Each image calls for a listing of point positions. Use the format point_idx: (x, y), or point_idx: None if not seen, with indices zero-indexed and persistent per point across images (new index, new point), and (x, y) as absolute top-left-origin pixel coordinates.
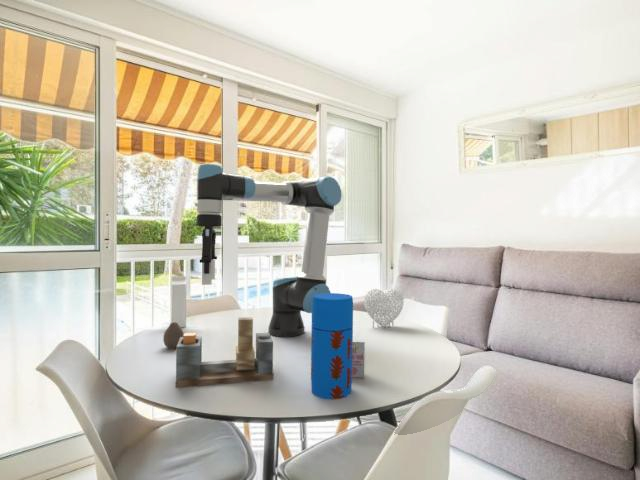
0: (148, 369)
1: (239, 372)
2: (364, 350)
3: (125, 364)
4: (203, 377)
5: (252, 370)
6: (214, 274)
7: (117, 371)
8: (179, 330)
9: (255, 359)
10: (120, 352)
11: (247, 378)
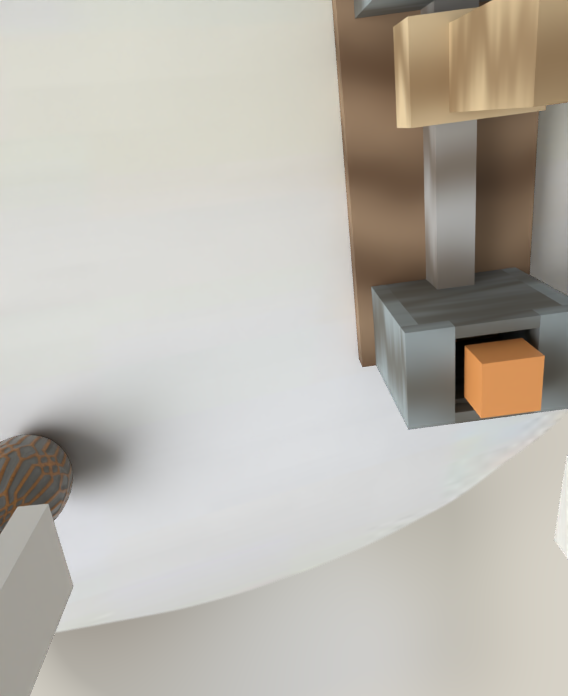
0: (319, 469)
1: None
2: None
3: (258, 551)
4: (508, 253)
5: None
6: (21, 552)
7: (327, 548)
8: (17, 484)
9: (453, 8)
10: (120, 608)
11: None
